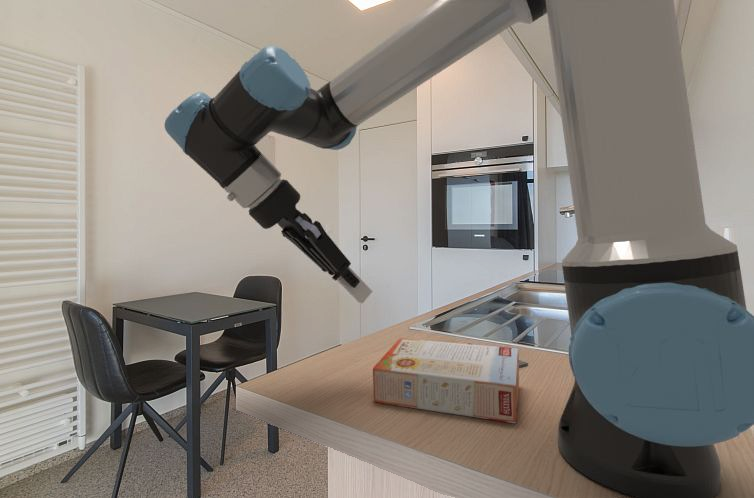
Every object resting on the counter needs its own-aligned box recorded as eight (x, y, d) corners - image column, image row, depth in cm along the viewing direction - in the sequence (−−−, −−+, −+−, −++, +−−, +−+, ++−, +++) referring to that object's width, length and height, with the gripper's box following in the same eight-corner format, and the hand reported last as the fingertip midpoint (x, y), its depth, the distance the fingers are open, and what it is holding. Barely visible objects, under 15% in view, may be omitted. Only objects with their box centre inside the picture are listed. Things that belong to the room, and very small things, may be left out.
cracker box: (372, 404, 60) (517, 426, 53) (370, 366, 60) (517, 383, 52) (400, 368, 73) (520, 381, 66) (399, 337, 73) (519, 346, 65)
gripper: (238, 213, 63) (336, 307, 71) (256, 209, 51) (369, 321, 60) (271, 181, 65) (361, 276, 74) (295, 171, 54) (399, 284, 62)
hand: (365, 296), depth 67 cm, fingers closed
